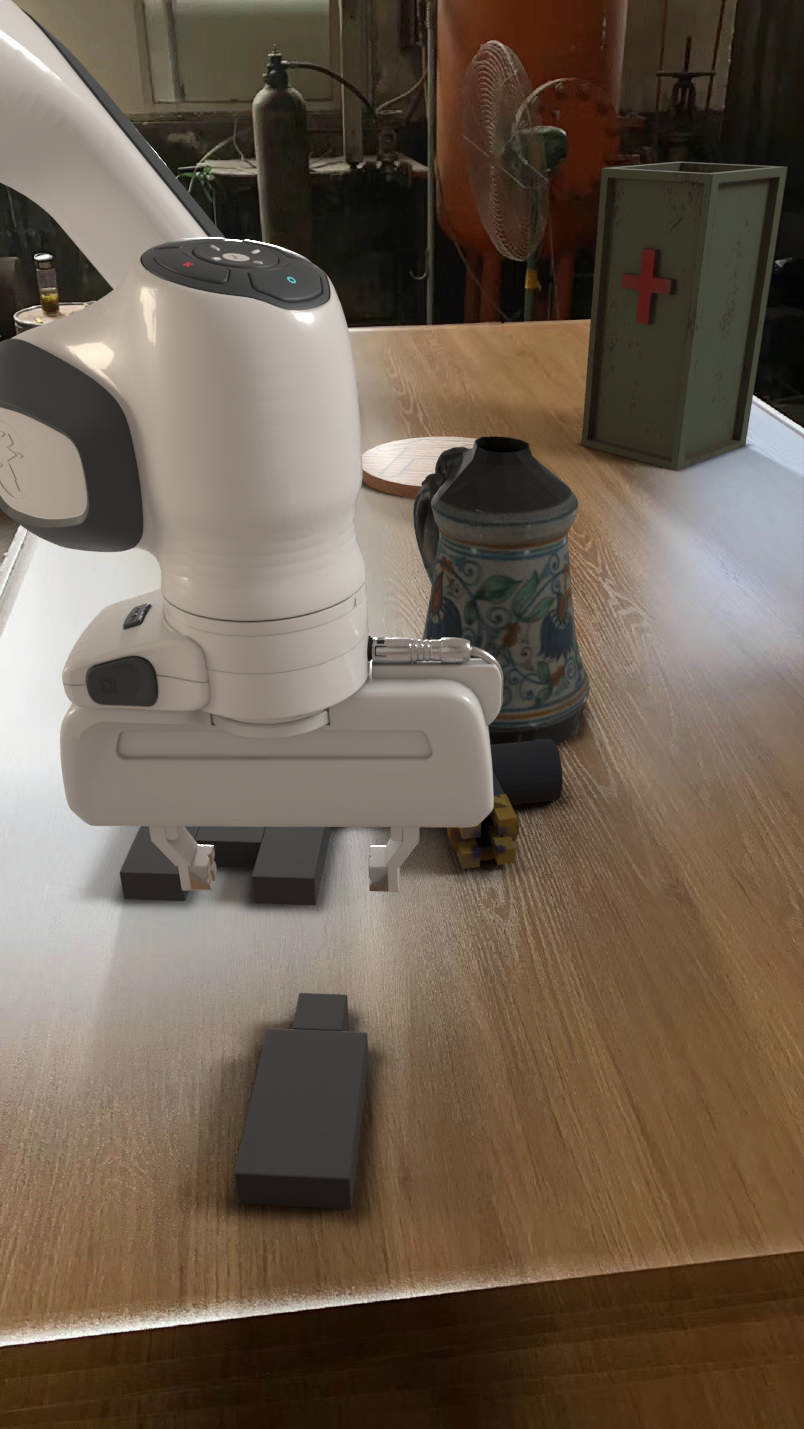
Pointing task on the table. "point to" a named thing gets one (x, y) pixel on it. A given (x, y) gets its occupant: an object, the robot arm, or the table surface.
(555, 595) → the beer stein
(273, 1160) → the black tile
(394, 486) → the trivet
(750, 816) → the table surface
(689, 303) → the first aid box
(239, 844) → the base pad
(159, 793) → the robot arm
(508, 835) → the pipe connector
